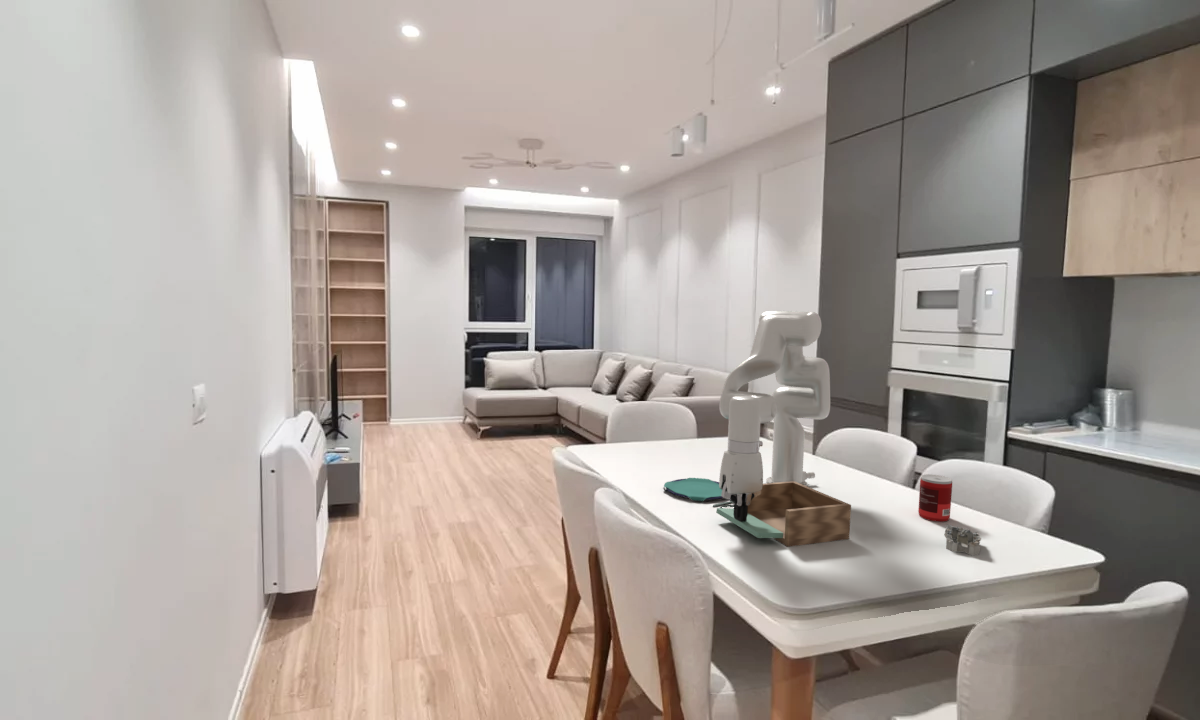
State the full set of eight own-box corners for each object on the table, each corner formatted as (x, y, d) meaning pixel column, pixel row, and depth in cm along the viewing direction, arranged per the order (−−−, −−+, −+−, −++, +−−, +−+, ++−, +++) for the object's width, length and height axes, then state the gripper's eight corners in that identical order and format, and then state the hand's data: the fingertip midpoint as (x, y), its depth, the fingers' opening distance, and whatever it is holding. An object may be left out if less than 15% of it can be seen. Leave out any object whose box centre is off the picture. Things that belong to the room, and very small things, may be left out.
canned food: (948, 515, 171) (951, 476, 170) (951, 524, 163) (954, 483, 163) (917, 511, 174) (919, 472, 173) (918, 519, 167) (921, 479, 166)
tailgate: (739, 508, 163) (716, 508, 161) (783, 533, 145) (758, 532, 143) (739, 513, 163) (716, 512, 161) (782, 538, 146) (757, 537, 143)
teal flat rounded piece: (699, 480, 201) (699, 474, 200) (772, 507, 176) (773, 499, 176) (652, 490, 189) (652, 482, 189) (723, 520, 165) (723, 511, 165)
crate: (792, 511, 171) (794, 481, 170) (849, 539, 150) (851, 504, 150) (736, 516, 165) (737, 485, 164) (787, 546, 144) (789, 511, 144)
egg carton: (979, 558, 141) (981, 541, 140) (942, 551, 145) (943, 534, 145) (980, 544, 150) (982, 527, 149) (945, 537, 154) (946, 521, 153)
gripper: (760, 442, 157) (757, 512, 158) (708, 445, 152) (705, 517, 153) (778, 448, 150) (774, 522, 151) (724, 451, 145) (721, 528, 146)
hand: (740, 519), depth 152 cm, fingers closed
